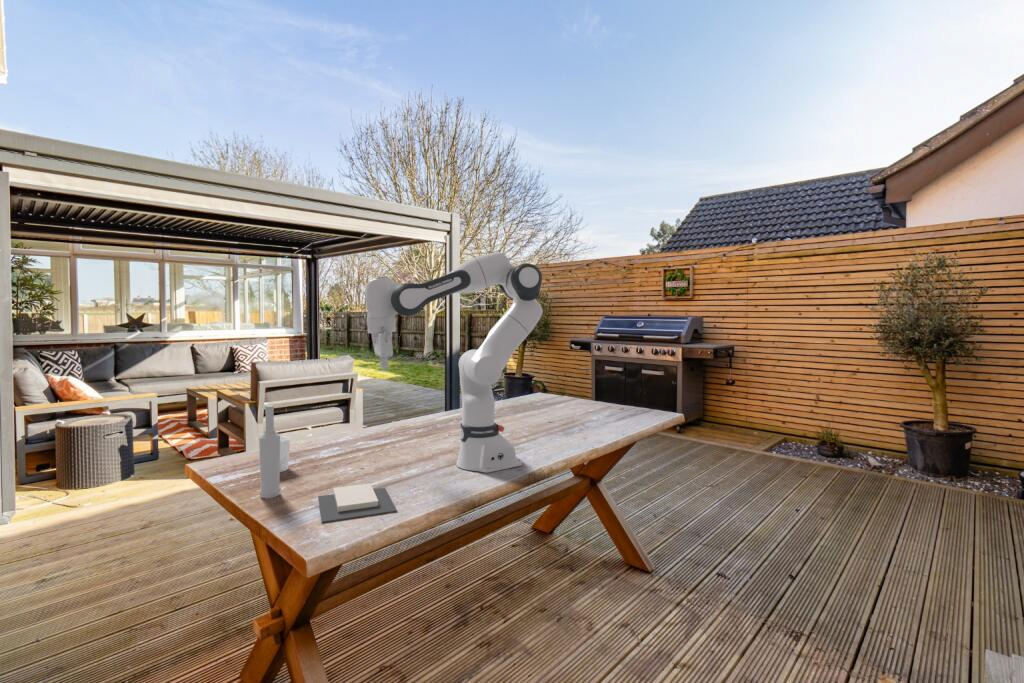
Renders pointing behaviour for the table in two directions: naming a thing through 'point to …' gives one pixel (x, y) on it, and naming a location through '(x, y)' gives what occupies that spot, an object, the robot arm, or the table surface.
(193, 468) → the table surface
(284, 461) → the white cup
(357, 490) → the tile
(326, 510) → the mat
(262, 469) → the bottle
